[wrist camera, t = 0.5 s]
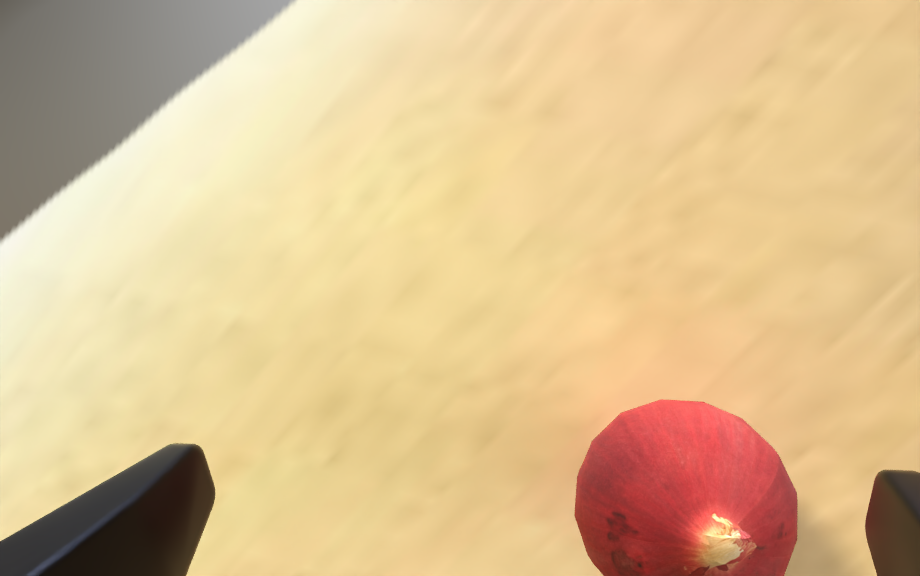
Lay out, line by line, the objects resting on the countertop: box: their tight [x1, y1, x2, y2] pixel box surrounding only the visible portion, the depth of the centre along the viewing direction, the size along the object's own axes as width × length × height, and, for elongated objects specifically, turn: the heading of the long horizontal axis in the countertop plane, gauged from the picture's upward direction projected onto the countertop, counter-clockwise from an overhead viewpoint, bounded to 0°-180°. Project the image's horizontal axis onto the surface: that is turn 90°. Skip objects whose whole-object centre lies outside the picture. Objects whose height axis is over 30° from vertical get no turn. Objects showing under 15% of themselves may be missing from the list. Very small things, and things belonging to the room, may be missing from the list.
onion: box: [575, 400, 797, 576], centre depth 19 cm, size 6×6×8 cm
